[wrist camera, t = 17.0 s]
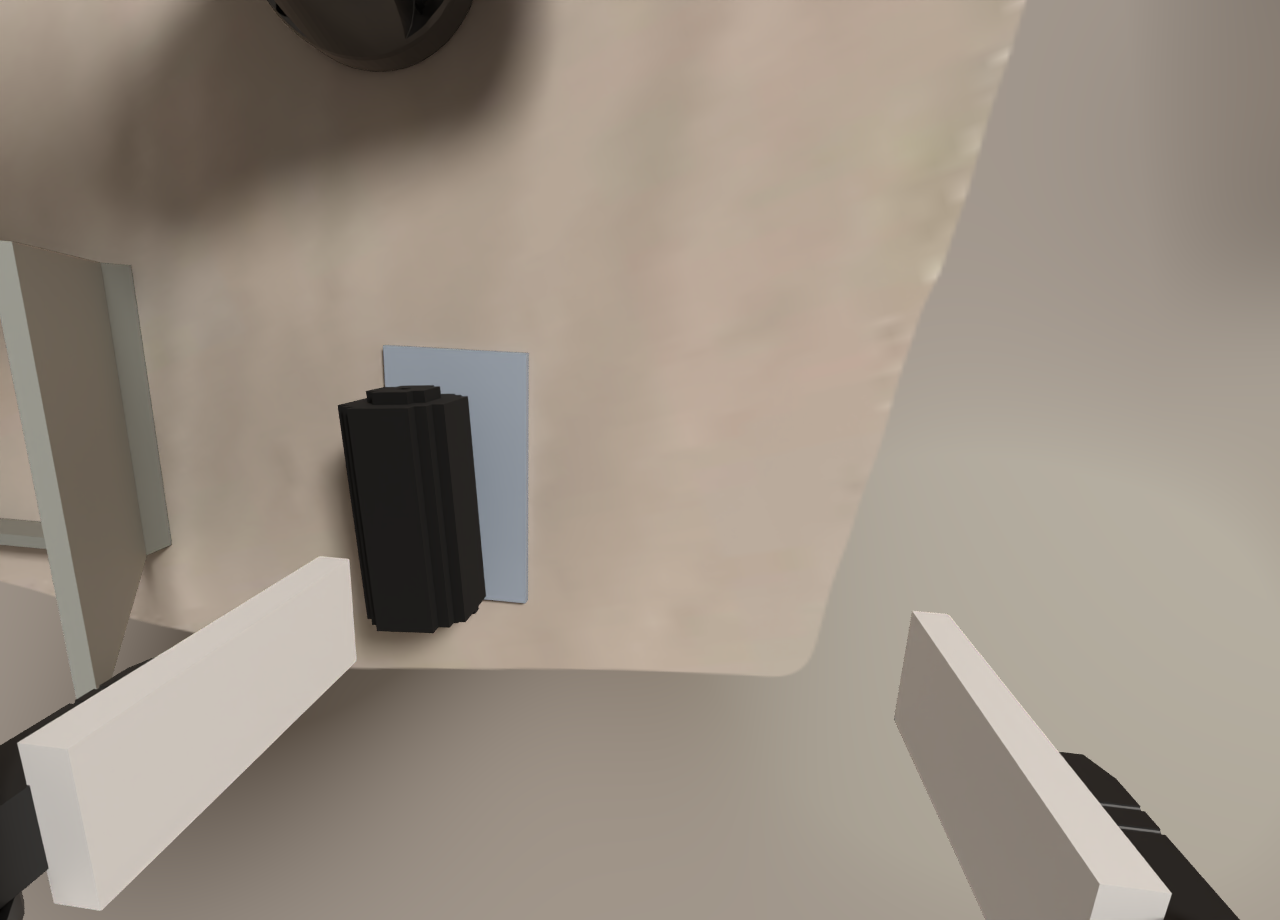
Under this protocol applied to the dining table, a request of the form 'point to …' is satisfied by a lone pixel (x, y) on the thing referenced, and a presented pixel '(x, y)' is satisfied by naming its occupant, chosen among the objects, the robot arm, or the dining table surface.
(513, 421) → the mat
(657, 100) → the dining table surface
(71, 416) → the case
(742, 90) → the dining table surface
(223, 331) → the dining table surface
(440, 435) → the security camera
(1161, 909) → the robot arm
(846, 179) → the dining table surface
